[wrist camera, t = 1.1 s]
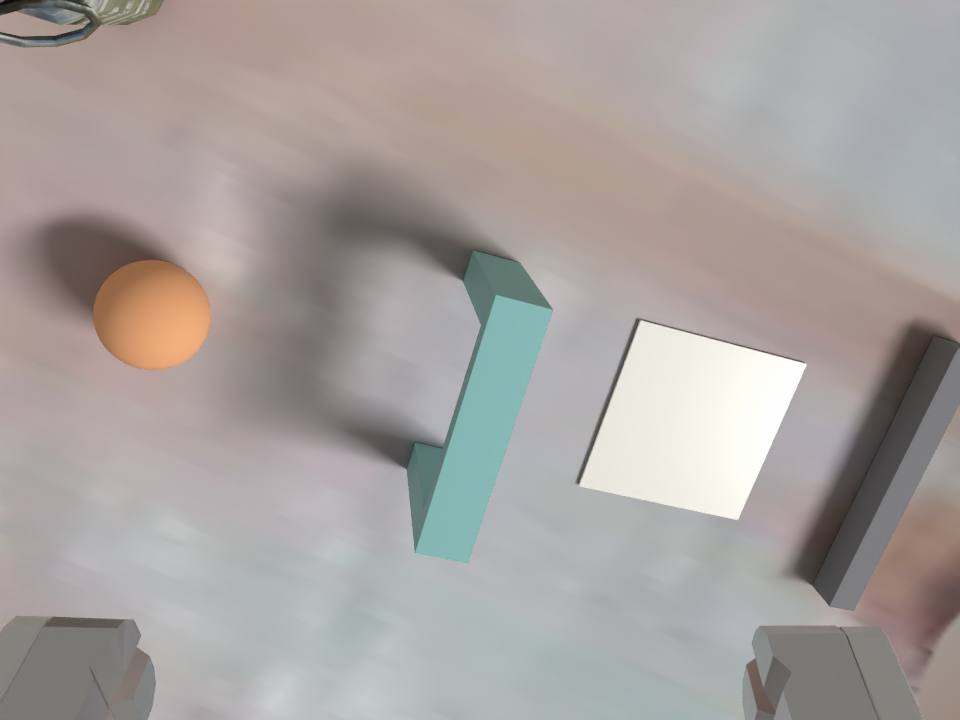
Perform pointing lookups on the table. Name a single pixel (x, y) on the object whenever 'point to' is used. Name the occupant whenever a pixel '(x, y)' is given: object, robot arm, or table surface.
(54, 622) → the robot arm
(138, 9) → the grenade
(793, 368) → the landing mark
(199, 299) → the ball
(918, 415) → the stopper
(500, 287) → the bridge
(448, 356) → the table surface
